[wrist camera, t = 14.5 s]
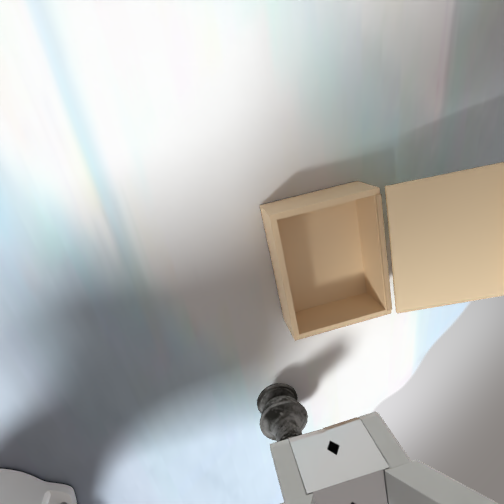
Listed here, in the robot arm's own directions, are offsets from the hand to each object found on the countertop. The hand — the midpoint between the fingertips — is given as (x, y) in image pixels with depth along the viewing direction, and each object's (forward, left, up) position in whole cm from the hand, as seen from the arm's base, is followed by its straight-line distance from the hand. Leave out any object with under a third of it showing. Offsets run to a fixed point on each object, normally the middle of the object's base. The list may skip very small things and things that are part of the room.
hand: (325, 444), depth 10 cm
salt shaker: (-26, -1, -31) cm, 41 cm away
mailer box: (-7, -9, -31) cm, 33 cm away
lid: (-7, -21, -24) cm, 32 cm away
